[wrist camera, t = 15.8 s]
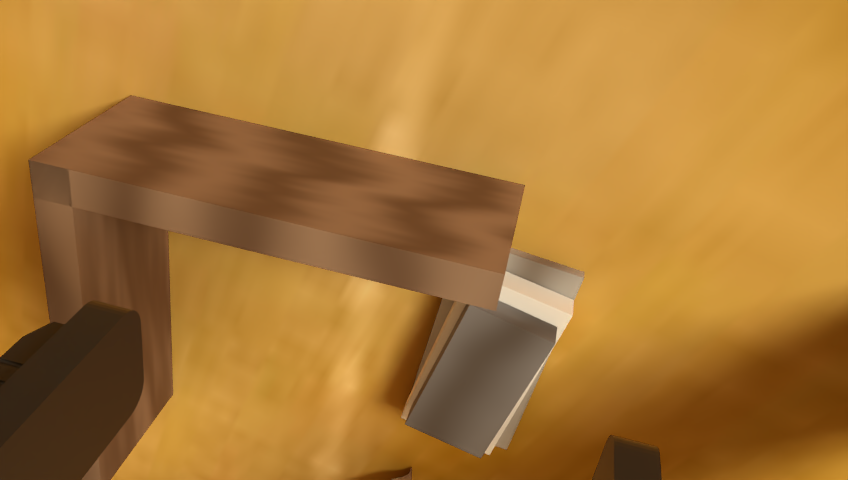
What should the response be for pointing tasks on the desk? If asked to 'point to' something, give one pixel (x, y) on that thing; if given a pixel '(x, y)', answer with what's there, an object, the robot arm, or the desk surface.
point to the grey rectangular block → (480, 375)
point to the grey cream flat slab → (533, 271)
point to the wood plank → (407, 478)
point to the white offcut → (518, 296)
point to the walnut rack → (248, 220)
